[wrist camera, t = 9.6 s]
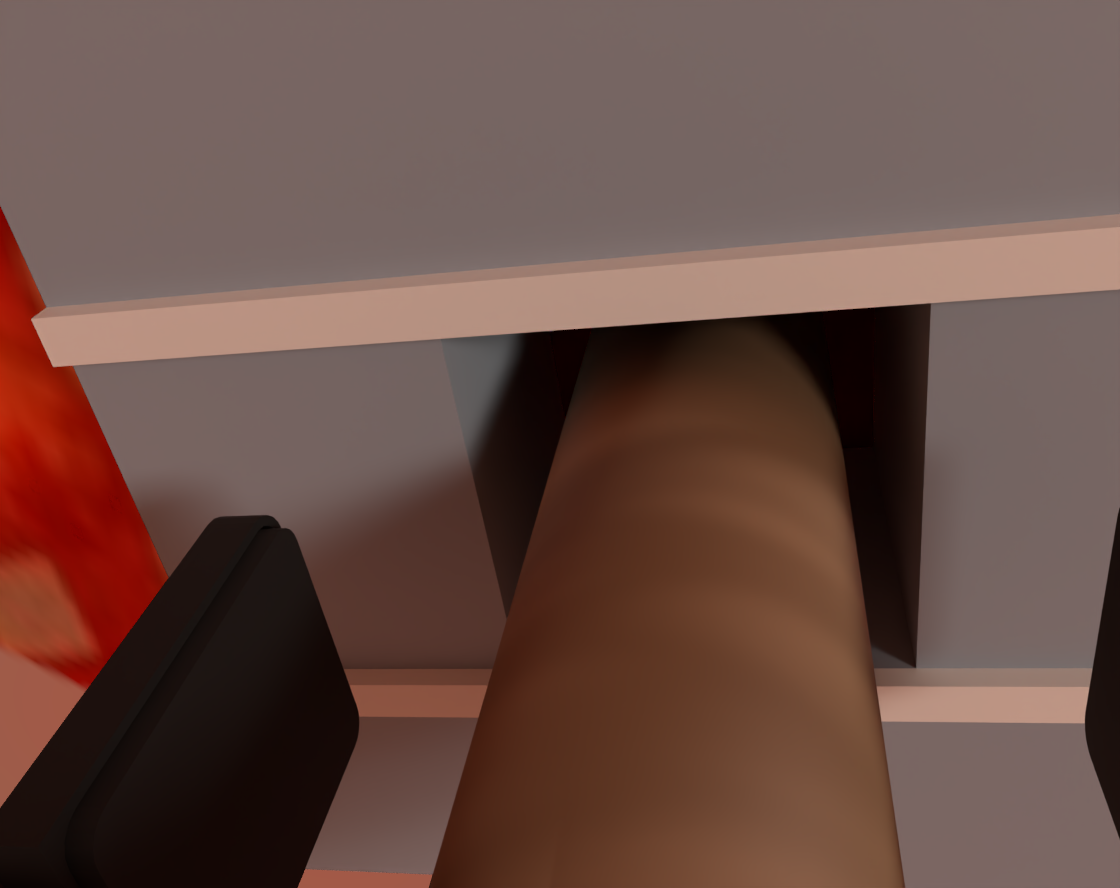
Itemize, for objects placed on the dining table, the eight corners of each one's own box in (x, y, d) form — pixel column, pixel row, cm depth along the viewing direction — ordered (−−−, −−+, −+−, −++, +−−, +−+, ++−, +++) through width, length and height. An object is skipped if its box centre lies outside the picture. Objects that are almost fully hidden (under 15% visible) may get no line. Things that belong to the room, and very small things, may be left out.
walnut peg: (823, 197, 14) (989, 1102, 4) (827, 409, 16) (951, 1389, 6) (582, 220, 15) (266, 1041, 5) (611, 420, 17) (417, 1314, 7)
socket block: (1326, -335, 11) (1735, -422, 6) (1137, 649, 18) (1265, 931, 13) (140, -117, 14) (-151, -73, 9) (389, 653, 21) (293, 885, 16)
